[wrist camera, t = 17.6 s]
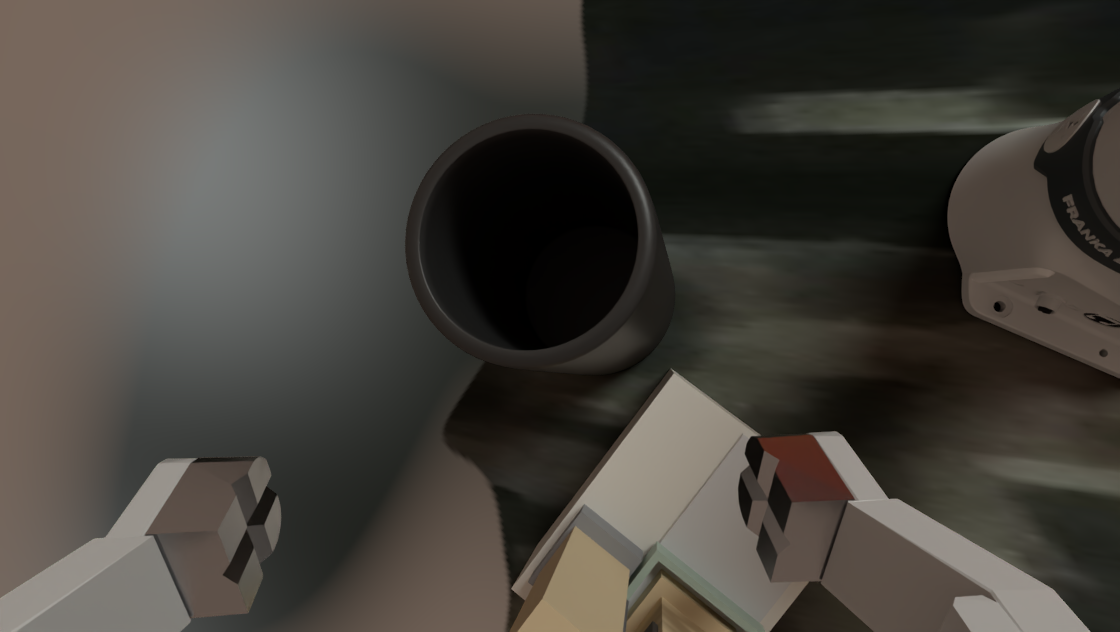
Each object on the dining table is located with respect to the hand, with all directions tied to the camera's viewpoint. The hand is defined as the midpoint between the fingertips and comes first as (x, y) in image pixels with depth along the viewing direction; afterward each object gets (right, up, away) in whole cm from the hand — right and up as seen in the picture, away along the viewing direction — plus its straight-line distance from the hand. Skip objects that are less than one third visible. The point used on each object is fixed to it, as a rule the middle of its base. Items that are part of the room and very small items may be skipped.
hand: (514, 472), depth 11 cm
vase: (+4, +4, +43) cm, 44 cm away
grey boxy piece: (+10, -14, +41) cm, 45 cm away
